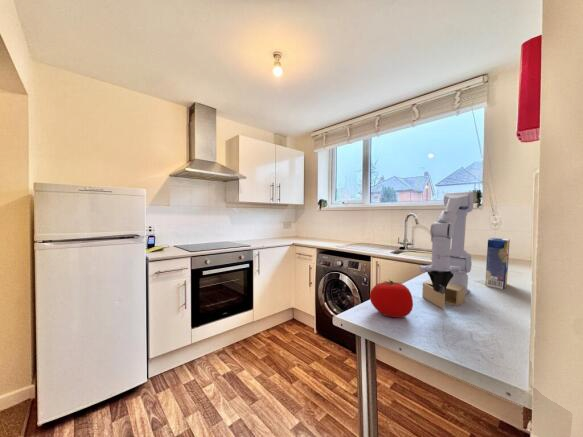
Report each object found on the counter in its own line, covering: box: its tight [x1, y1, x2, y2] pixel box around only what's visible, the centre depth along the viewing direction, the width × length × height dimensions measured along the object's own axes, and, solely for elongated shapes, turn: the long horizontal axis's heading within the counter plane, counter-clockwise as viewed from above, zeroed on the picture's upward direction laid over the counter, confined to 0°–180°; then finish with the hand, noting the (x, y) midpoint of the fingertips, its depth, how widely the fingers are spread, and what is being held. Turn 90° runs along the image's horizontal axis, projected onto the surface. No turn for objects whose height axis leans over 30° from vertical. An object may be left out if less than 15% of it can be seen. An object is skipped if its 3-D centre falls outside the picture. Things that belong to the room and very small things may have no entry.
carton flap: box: [421, 282, 446, 310], centre depth 94 cm, size 1×12×8 cm, turn 6°
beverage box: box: [484, 237, 511, 290], centre depth 115 cm, size 7×11×22 cm, turn 133°
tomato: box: [369, 279, 414, 318], centre depth 84 cm, size 12×14×12 cm
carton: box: [422, 279, 466, 307], centre depth 98 cm, size 8×13×6 cm, turn 38°
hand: (439, 290), depth 89 cm, fingers closed
